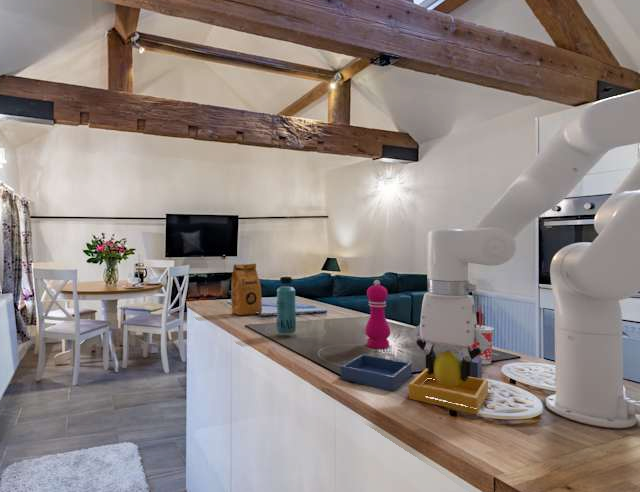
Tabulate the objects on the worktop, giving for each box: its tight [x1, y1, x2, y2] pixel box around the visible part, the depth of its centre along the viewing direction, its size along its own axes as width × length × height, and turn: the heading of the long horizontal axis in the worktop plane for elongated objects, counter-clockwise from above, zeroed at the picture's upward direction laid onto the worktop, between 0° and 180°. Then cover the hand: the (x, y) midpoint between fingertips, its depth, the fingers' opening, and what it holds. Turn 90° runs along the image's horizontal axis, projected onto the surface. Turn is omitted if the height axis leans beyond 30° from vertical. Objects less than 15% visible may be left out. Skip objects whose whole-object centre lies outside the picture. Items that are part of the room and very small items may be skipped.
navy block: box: [456, 353, 483, 379], centre depth 93 cm, size 5×5×5 cm
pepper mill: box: [364, 279, 391, 350], centre depth 122 cm, size 7×7×20 cm
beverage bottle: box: [276, 276, 297, 335], centre depth 136 cm, size 6×7×20 cm
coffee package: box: [230, 263, 263, 316], centre depth 176 cm, size 10×12×22 cm
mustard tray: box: [408, 368, 489, 415], centre depth 84 cm, size 12×12×3 cm
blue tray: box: [340, 353, 412, 392], centre depth 95 cm, size 12×12×3 cm
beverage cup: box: [470, 307, 495, 365], centre depth 106 cm, size 6×6×14 cm
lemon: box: [433, 349, 462, 389], centre depth 84 cm, size 6×6×8 cm
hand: (448, 374), depth 84 cm, fingers closed on lemon, 5 cm apart
